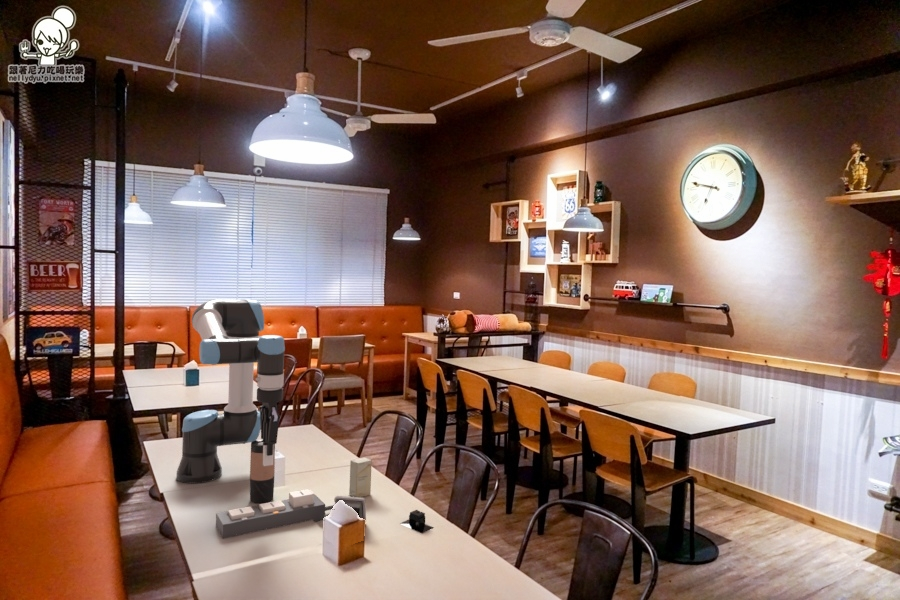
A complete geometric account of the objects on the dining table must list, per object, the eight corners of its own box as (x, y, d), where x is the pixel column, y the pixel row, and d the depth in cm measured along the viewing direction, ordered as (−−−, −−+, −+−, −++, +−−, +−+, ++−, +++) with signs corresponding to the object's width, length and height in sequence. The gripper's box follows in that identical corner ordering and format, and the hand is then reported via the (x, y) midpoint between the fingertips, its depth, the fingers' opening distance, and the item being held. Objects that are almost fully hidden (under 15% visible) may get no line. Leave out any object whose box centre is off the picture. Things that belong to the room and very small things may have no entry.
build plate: (439, 530, 176) (440, 515, 176) (423, 538, 170) (423, 523, 170) (410, 517, 184) (410, 503, 184) (393, 524, 178) (394, 510, 178)
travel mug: (266, 508, 185) (267, 446, 184) (244, 505, 187) (246, 444, 186) (278, 499, 193) (279, 440, 192) (257, 496, 194) (258, 437, 193)
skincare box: (356, 498, 196) (357, 463, 195) (348, 494, 199) (349, 460, 198) (371, 494, 200) (372, 459, 200) (363, 490, 203) (364, 456, 203)
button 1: (227, 527, 169) (228, 510, 169) (250, 522, 172) (250, 505, 172) (231, 533, 165) (231, 515, 165) (254, 528, 169) (254, 511, 169)
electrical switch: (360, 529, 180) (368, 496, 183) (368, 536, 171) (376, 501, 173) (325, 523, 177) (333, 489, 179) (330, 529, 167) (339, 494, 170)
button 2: (259, 520, 174) (259, 504, 174) (280, 516, 177) (280, 500, 177) (263, 526, 170) (263, 509, 170) (284, 521, 174) (285, 505, 174)
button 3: (288, 508, 179) (289, 492, 179) (308, 504, 182) (309, 488, 182) (293, 513, 175) (293, 497, 175) (313, 509, 179) (314, 493, 178)
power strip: (215, 529, 169) (216, 512, 169) (330, 506, 189) (331, 490, 189) (222, 542, 162) (223, 523, 162) (341, 516, 181) (342, 500, 181)
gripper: (251, 384, 176) (249, 459, 178) (263, 393, 165) (261, 473, 167) (275, 382, 180) (273, 456, 182) (289, 391, 169) (287, 469, 171)
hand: (268, 464), depth 174 cm, fingers closed
